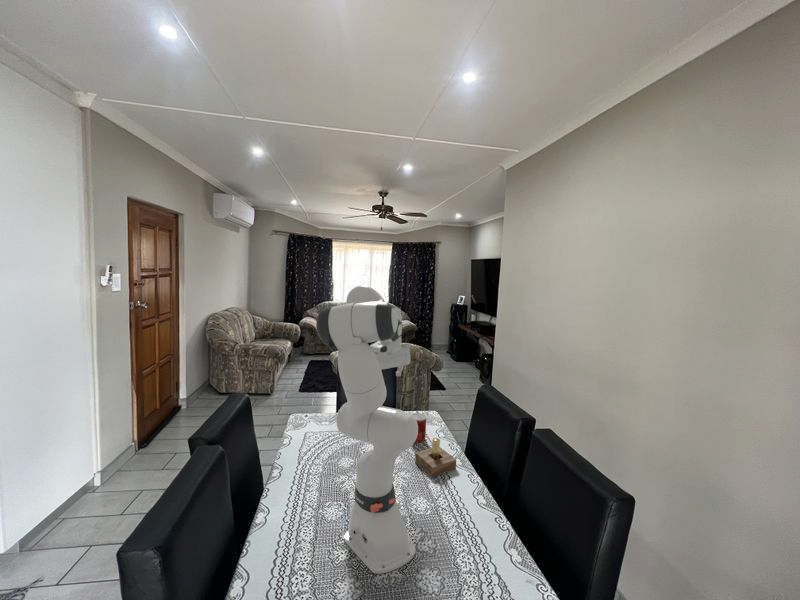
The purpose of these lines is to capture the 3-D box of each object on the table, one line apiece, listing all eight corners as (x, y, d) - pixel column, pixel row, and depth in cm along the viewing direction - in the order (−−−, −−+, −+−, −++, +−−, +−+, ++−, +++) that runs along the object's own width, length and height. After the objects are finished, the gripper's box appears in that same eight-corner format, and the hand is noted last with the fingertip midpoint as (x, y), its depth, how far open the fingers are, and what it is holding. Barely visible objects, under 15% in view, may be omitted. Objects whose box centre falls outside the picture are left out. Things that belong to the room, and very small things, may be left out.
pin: (440, 464, 136) (441, 440, 135) (434, 465, 134) (435, 442, 134) (436, 460, 138) (437, 437, 138) (430, 461, 137) (431, 438, 136)
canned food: (425, 442, 154) (426, 420, 154) (408, 442, 155) (409, 419, 154) (424, 434, 162) (425, 413, 161) (408, 434, 162) (409, 412, 161)
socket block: (455, 468, 135) (456, 459, 134) (432, 477, 128) (432, 467, 128) (437, 454, 145) (438, 445, 144) (415, 461, 138) (415, 452, 138)
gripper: (405, 341, 146) (403, 371, 147) (366, 346, 133) (365, 379, 134) (414, 344, 141) (413, 375, 142) (374, 349, 128) (373, 384, 129)
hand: (389, 377), depth 138 cm, fingers open, 8 cm apart
